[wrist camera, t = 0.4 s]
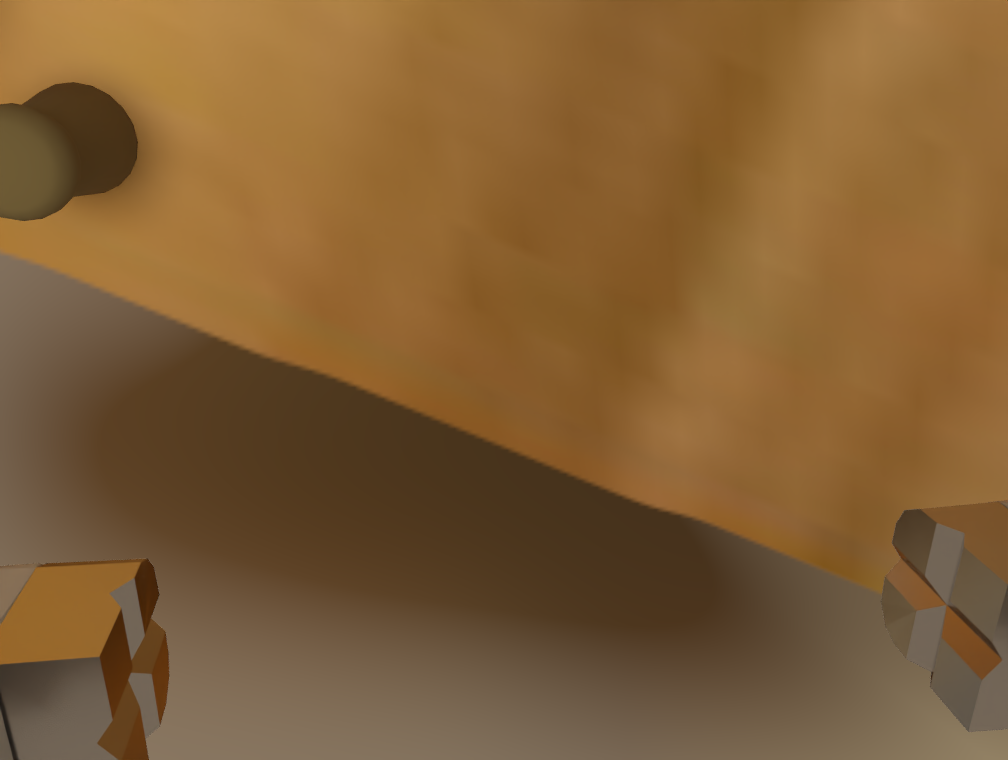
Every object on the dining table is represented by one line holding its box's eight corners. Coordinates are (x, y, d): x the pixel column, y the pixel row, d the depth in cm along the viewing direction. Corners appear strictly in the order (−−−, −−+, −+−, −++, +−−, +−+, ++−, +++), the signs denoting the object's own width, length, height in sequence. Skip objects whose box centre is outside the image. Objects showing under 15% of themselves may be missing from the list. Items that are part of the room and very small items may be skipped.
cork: (132, 85, 48) (67, 99, 38) (142, 196, 50) (84, 238, 40) (13, 79, 47) (-85, 93, 37) (29, 193, 49) (-59, 235, 39)
